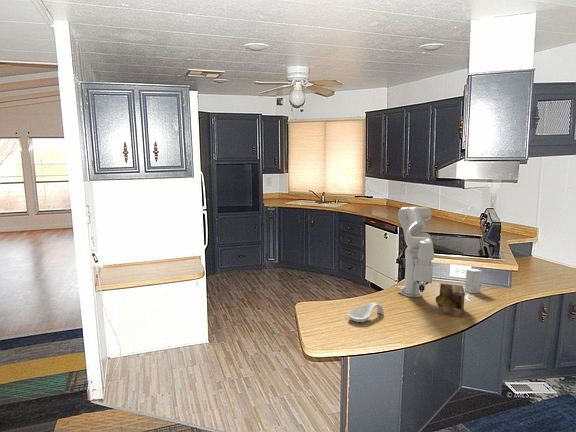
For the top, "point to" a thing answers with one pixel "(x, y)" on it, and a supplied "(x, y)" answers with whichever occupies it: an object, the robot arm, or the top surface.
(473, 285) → the skincare box
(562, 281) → the top surface
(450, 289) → the cubby
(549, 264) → the top surface
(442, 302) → the potato
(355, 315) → the spoon rest
